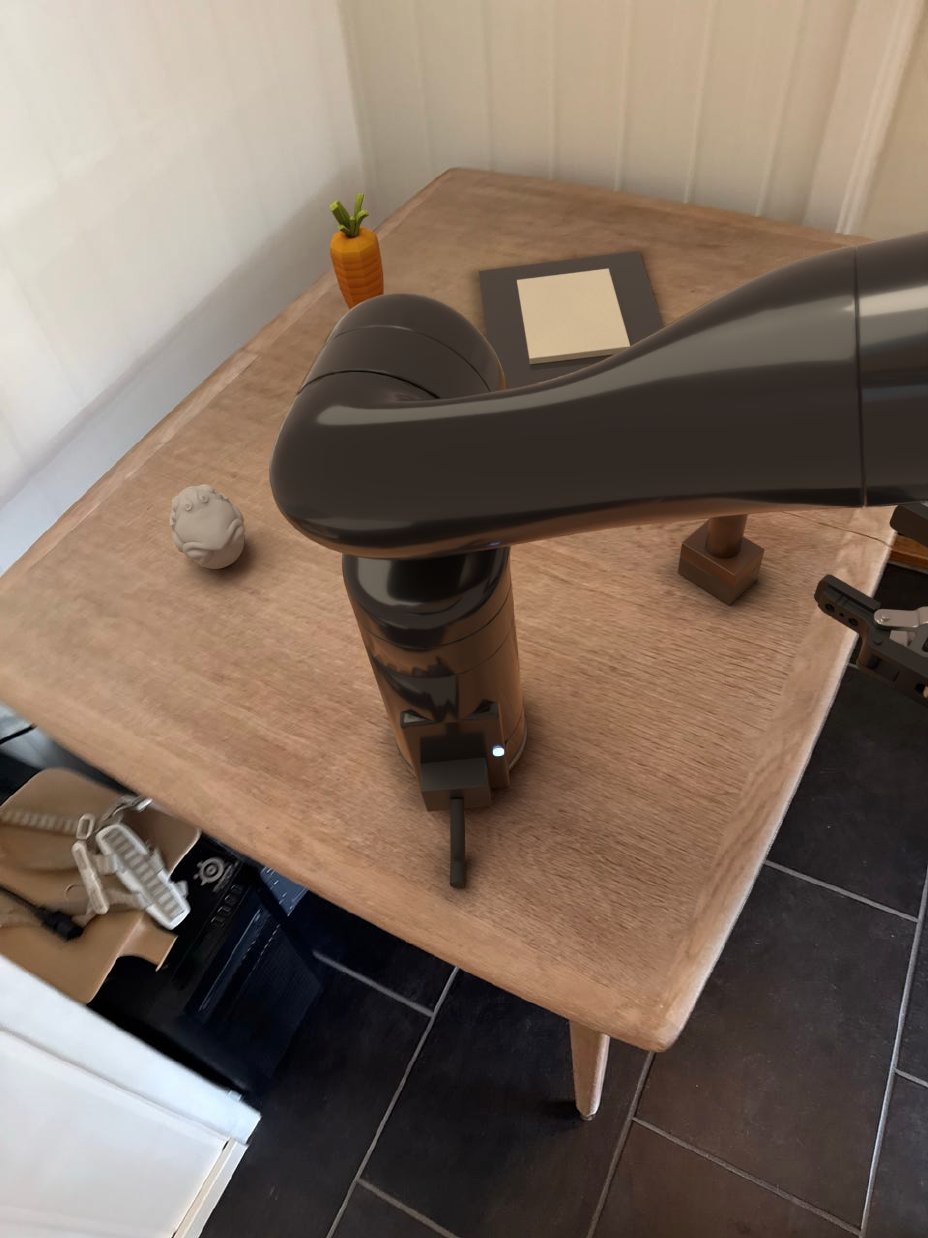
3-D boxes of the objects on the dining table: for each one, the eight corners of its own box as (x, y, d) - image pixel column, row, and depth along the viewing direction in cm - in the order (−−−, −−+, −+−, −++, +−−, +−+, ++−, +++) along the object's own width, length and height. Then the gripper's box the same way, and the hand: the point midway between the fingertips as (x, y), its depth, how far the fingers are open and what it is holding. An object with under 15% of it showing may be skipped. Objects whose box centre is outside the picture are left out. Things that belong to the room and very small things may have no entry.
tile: (678, 376, 85) (679, 366, 84) (493, 398, 86) (492, 388, 85) (638, 253, 98) (639, 243, 97) (478, 273, 99) (477, 263, 98)
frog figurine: (239, 518, 79) (213, 460, 74) (269, 565, 75) (244, 508, 70) (176, 548, 78) (145, 491, 72) (204, 598, 74) (173, 542, 68)
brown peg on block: (757, 579, 69) (786, 466, 59) (729, 606, 68) (753, 494, 58) (705, 547, 71) (725, 434, 62) (677, 572, 70) (692, 461, 61)
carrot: (387, 315, 96) (361, 178, 84) (401, 339, 93) (376, 200, 81) (344, 328, 95) (311, 192, 83) (357, 353, 92) (324, 215, 80)
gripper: (1216, 577, 48) (935, 446, 56) (1092, 743, 43) (804, 573, 51) (1146, 655, 54) (901, 527, 62) (1030, 809, 49) (780, 648, 57)
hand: (857, 548), depth 57 cm, fingers open, 8 cm apart
